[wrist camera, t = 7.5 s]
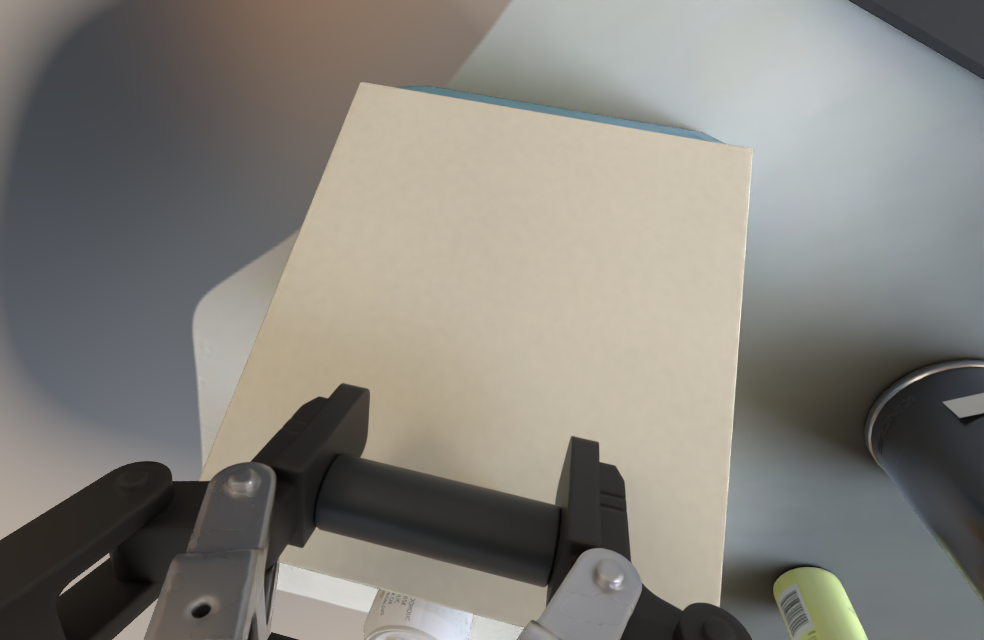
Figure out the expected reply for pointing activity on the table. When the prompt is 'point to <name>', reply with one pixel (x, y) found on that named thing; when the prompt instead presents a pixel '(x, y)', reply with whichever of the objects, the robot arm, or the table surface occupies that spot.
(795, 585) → the tube
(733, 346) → the lid
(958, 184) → the table surface
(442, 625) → the beer can
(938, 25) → the smart home device
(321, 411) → the robot arm
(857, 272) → the table surface
